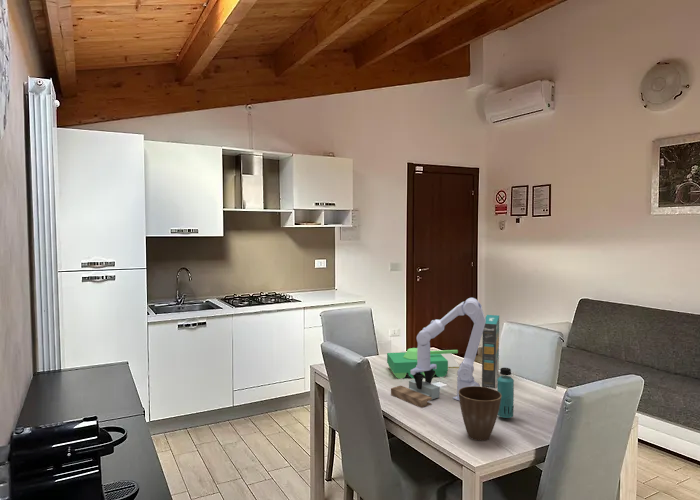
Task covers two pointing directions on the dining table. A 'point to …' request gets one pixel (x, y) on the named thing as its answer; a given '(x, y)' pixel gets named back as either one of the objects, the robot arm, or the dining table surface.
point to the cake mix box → (490, 351)
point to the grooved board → (411, 396)
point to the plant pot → (479, 410)
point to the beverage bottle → (506, 393)
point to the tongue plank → (426, 389)
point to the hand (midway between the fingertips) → (423, 387)
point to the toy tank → (408, 361)
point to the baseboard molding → (450, 360)
